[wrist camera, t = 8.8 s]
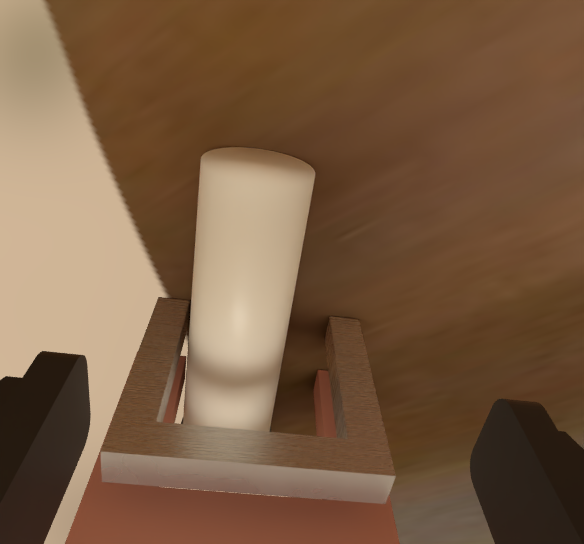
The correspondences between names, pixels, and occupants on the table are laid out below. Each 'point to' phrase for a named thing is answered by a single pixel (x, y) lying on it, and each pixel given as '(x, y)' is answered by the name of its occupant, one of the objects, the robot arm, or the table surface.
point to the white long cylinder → (243, 283)
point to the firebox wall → (226, 505)
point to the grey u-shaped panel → (248, 443)
